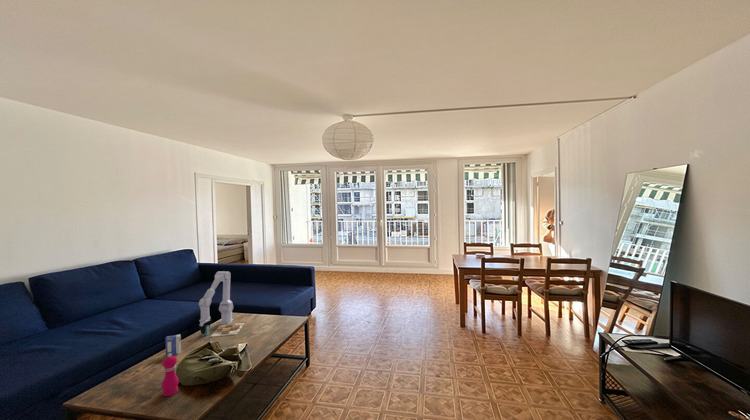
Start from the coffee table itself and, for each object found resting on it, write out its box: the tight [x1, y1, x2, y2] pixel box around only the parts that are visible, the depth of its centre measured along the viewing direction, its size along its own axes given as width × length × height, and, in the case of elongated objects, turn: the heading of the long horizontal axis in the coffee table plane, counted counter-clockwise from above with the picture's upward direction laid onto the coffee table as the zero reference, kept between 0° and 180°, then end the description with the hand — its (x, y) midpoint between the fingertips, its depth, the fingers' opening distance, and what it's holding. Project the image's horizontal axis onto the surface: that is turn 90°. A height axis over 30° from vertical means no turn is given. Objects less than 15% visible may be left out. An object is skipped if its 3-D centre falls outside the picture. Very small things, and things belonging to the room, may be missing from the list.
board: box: [210, 321, 245, 338], centre depth 218 cm, size 20×18×3 cm
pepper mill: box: [161, 354, 180, 397], centre depth 144 cm, size 7×7×20 cm
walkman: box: [164, 333, 182, 357], centre depth 183 cm, size 8×3×12 cm, turn 110°
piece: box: [201, 325, 211, 337], centre depth 211 cm, size 4×4×6 cm
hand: (205, 331), depth 211 cm, fingers open, 7 cm apart
